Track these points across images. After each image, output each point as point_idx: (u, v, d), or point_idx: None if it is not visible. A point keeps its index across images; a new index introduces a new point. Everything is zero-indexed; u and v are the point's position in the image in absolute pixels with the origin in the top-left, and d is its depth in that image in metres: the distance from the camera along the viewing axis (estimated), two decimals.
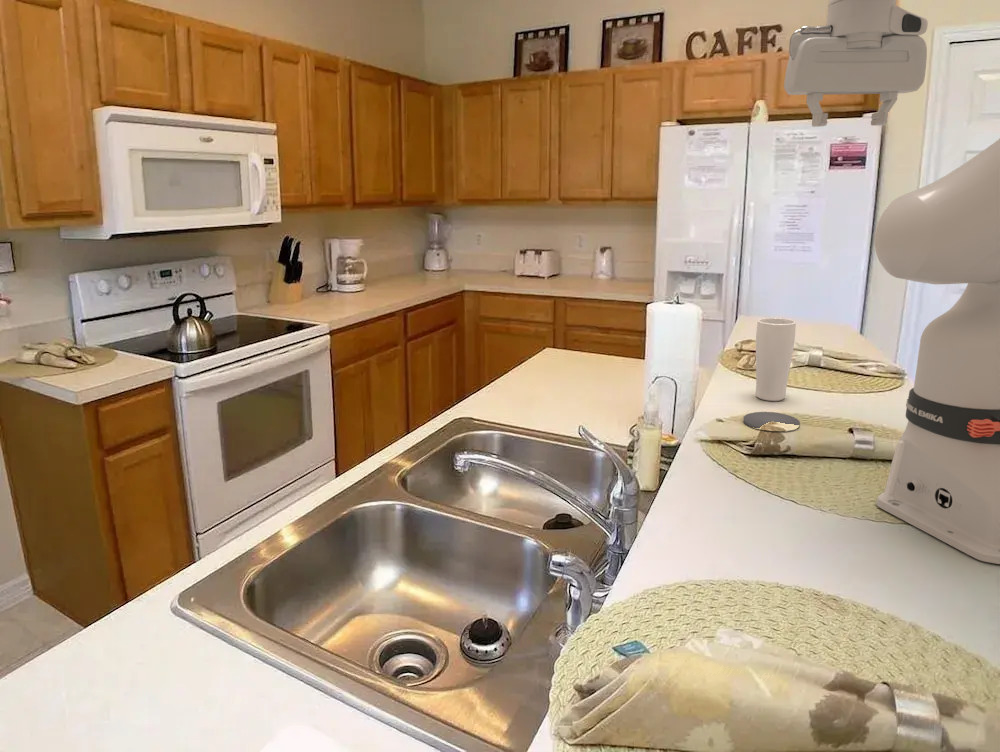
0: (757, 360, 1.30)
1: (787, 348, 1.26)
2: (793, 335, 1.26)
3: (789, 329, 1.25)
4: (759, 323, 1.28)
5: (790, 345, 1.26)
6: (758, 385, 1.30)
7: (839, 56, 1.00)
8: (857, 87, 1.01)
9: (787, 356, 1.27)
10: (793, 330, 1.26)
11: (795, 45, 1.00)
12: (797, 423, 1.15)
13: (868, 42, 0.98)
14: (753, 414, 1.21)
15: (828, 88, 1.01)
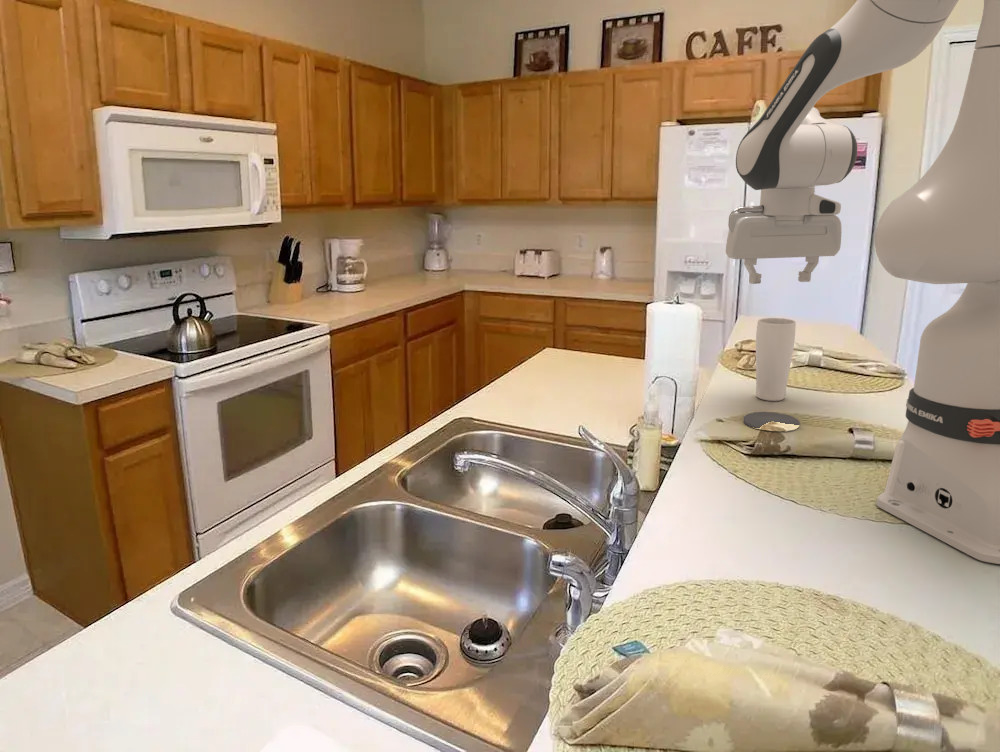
0: (757, 360, 1.30)
1: (787, 348, 1.26)
2: (793, 335, 1.26)
3: (789, 329, 1.25)
4: (759, 323, 1.28)
5: (790, 345, 1.26)
6: (758, 385, 1.30)
7: (769, 230, 1.22)
8: (784, 255, 1.23)
9: (787, 356, 1.27)
10: (793, 330, 1.26)
11: (733, 221, 1.22)
12: (797, 423, 1.15)
13: (792, 222, 1.20)
14: (753, 414, 1.21)
15: (760, 256, 1.23)
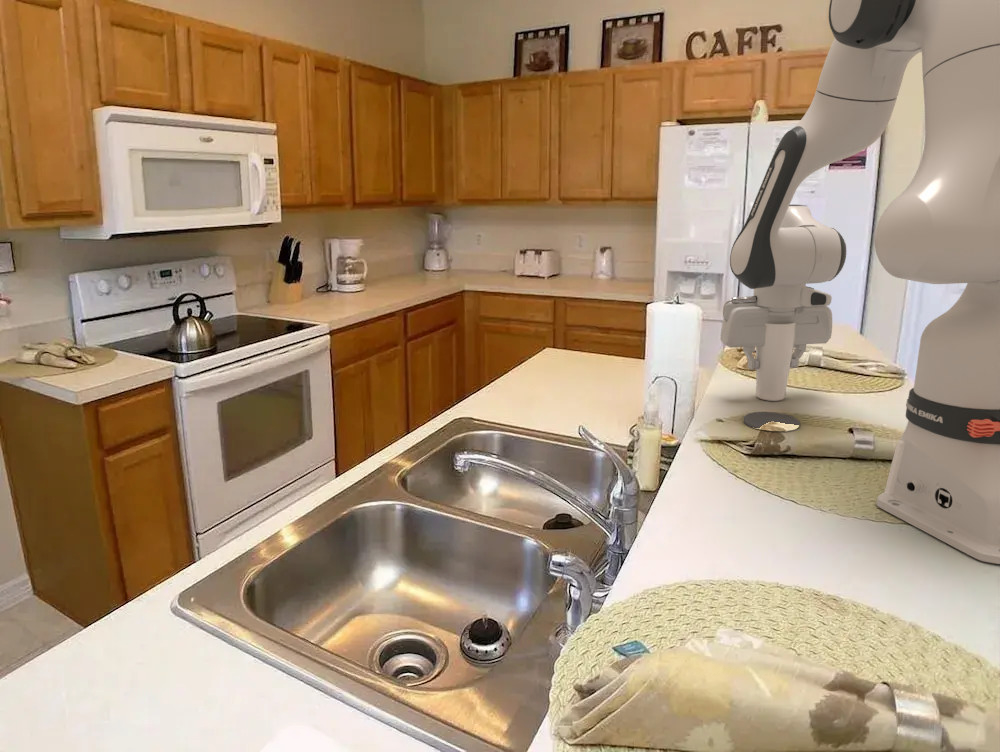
0: None
1: (787, 348, 1.26)
2: (793, 335, 1.26)
3: (789, 329, 1.25)
4: None
5: (790, 345, 1.26)
6: (758, 385, 1.30)
7: (762, 320, 1.26)
8: None
9: (787, 356, 1.27)
10: (793, 330, 1.26)
11: (727, 311, 1.26)
12: (797, 423, 1.15)
13: (784, 313, 1.24)
14: (753, 414, 1.21)
15: (754, 344, 1.27)
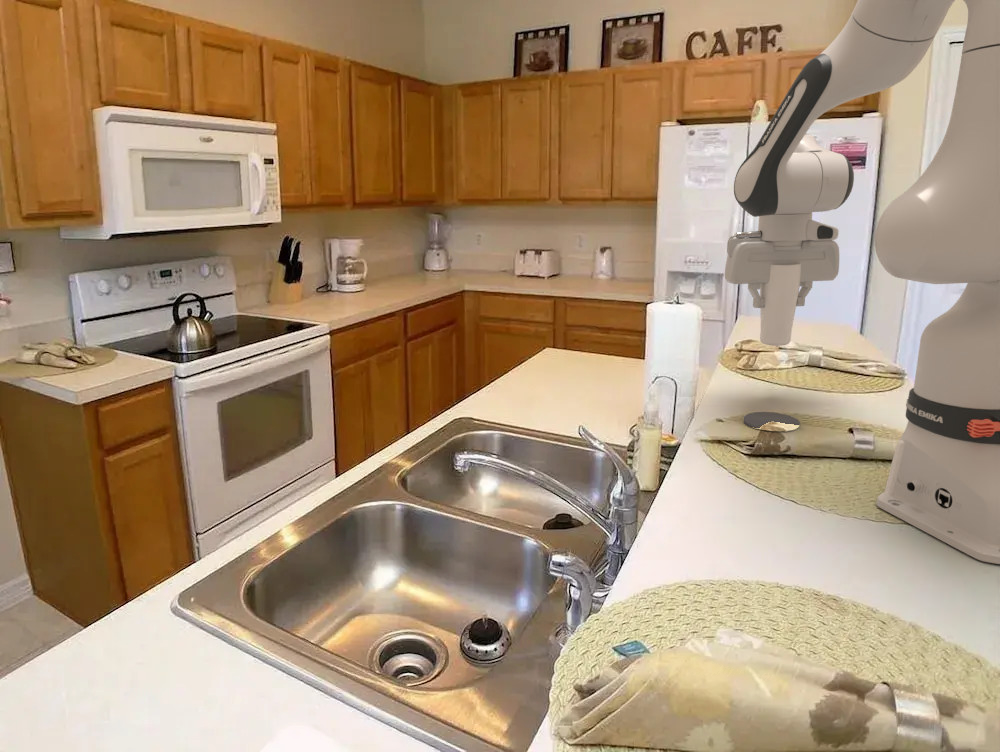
0: None
1: (792, 290, 1.23)
2: (798, 277, 1.23)
3: (794, 271, 1.22)
4: None
5: (795, 287, 1.23)
6: (762, 330, 1.28)
7: (768, 255, 1.23)
8: None
9: (792, 299, 1.24)
10: (798, 272, 1.23)
11: (732, 247, 1.23)
12: (797, 423, 1.15)
13: (790, 247, 1.21)
14: (753, 414, 1.21)
15: (759, 281, 1.23)
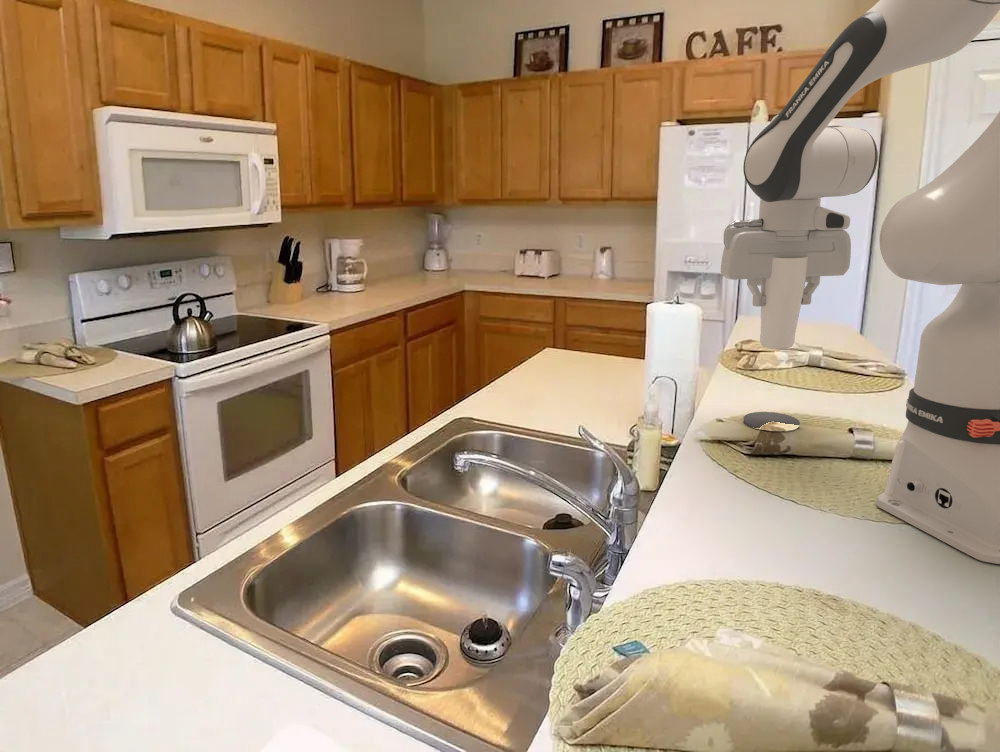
0: None
1: (797, 287, 1.08)
2: (804, 271, 1.08)
3: (800, 264, 1.07)
4: None
5: (801, 283, 1.08)
6: (763, 331, 1.13)
7: (769, 247, 1.08)
8: None
9: (797, 296, 1.09)
10: (804, 265, 1.08)
11: (729, 237, 1.08)
12: (797, 423, 1.15)
13: (795, 238, 1.06)
14: (753, 414, 1.21)
15: (760, 276, 1.09)
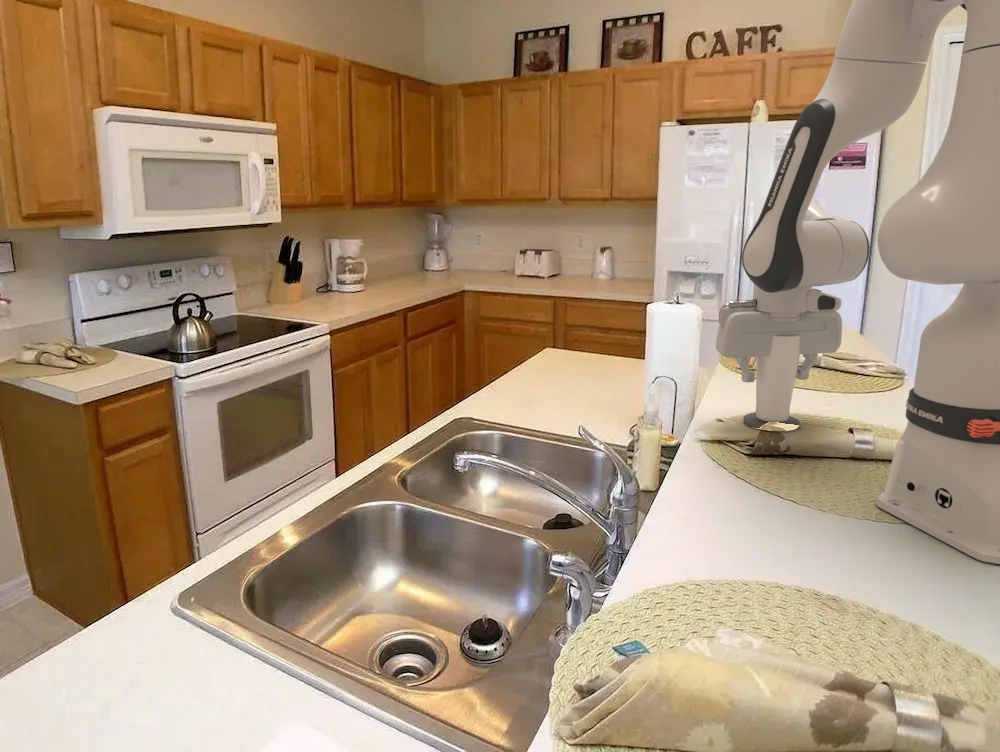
0: (757, 376, 1.16)
1: (791, 363, 1.12)
2: (798, 349, 1.12)
3: (793, 342, 1.11)
4: None
5: (794, 360, 1.12)
6: (758, 404, 1.17)
7: (763, 327, 1.11)
8: None
9: (791, 372, 1.13)
10: (798, 343, 1.12)
11: (723, 317, 1.11)
12: (797, 423, 1.15)
13: (788, 319, 1.10)
14: (753, 414, 1.21)
15: (754, 354, 1.12)
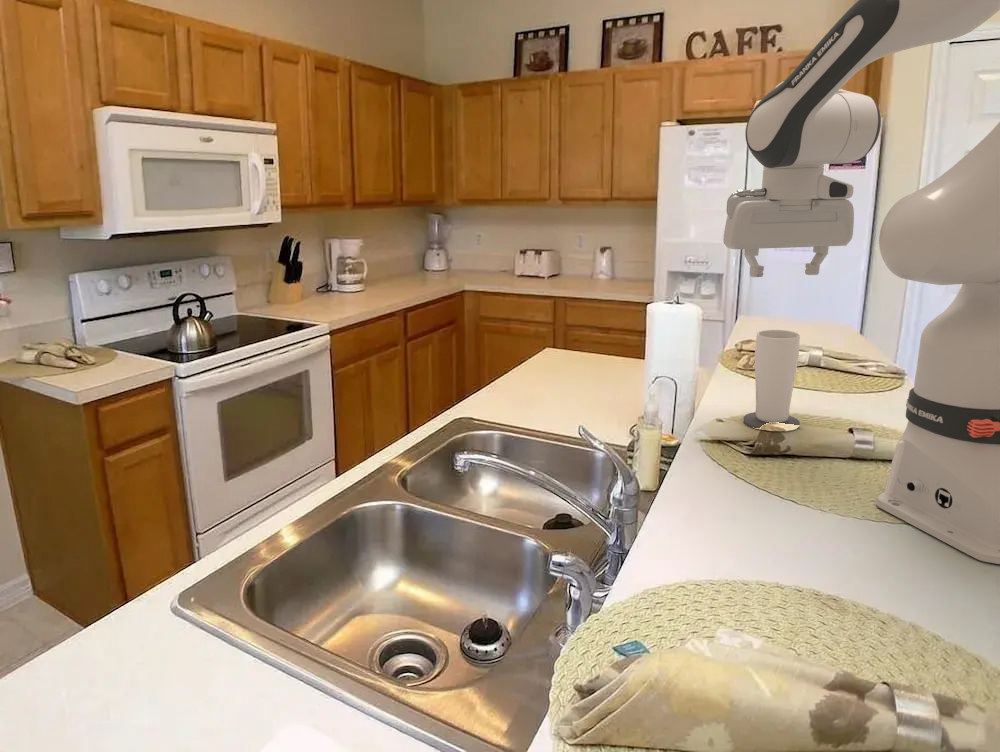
0: (756, 377, 1.16)
1: (789, 365, 1.12)
2: (796, 350, 1.12)
3: (791, 344, 1.11)
4: (758, 336, 1.13)
5: (793, 362, 1.12)
6: (757, 405, 1.17)
7: (773, 217, 1.08)
8: (790, 244, 1.09)
9: (790, 374, 1.12)
10: (796, 345, 1.11)
11: (732, 206, 1.08)
12: (797, 423, 1.15)
13: (798, 206, 1.06)
14: (753, 414, 1.21)
15: (763, 245, 1.09)
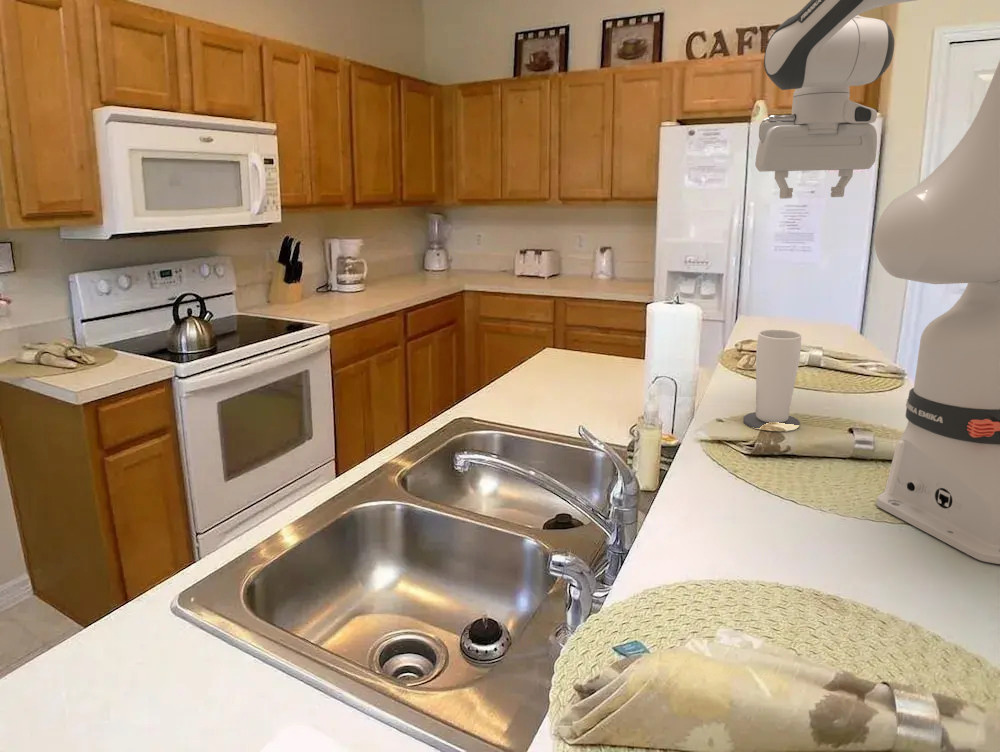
0: (757, 377, 1.16)
1: (790, 365, 1.12)
2: (798, 351, 1.12)
3: (793, 344, 1.11)
4: (760, 336, 1.13)
5: (794, 362, 1.12)
6: (758, 405, 1.17)
7: (802, 140, 1.17)
8: (817, 166, 1.18)
9: (790, 374, 1.12)
10: (798, 345, 1.11)
11: (764, 131, 1.17)
12: (797, 423, 1.15)
13: (826, 130, 1.15)
14: (753, 414, 1.21)
15: (792, 167, 1.17)
